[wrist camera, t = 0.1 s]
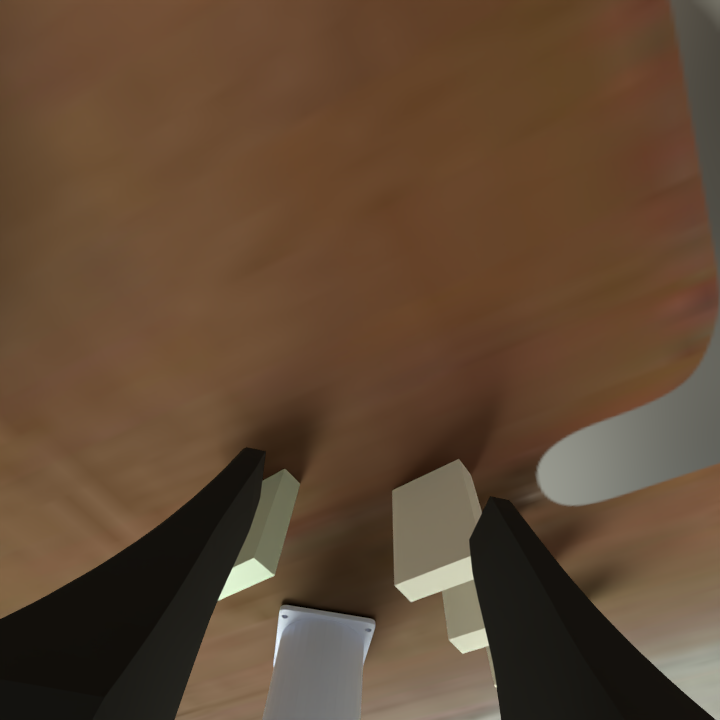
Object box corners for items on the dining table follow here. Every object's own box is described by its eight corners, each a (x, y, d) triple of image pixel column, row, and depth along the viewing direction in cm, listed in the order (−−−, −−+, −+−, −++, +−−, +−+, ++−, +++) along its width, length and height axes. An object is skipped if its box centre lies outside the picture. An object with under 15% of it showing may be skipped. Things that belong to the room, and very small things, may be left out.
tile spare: (300, 483, 25) (274, 575, 20) (246, 511, 27) (208, 604, 21) (285, 468, 25) (253, 557, 19) (231, 497, 26) (187, 589, 21)
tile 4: (471, 475, 24) (498, 570, 18) (405, 505, 26) (411, 602, 20) (458, 458, 24) (483, 551, 18) (392, 490, 25) (394, 585, 19)
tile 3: (510, 526, 26) (546, 628, 20) (446, 552, 27) (462, 653, 22) (499, 512, 25) (533, 612, 20) (434, 539, 27) (448, 639, 21)
